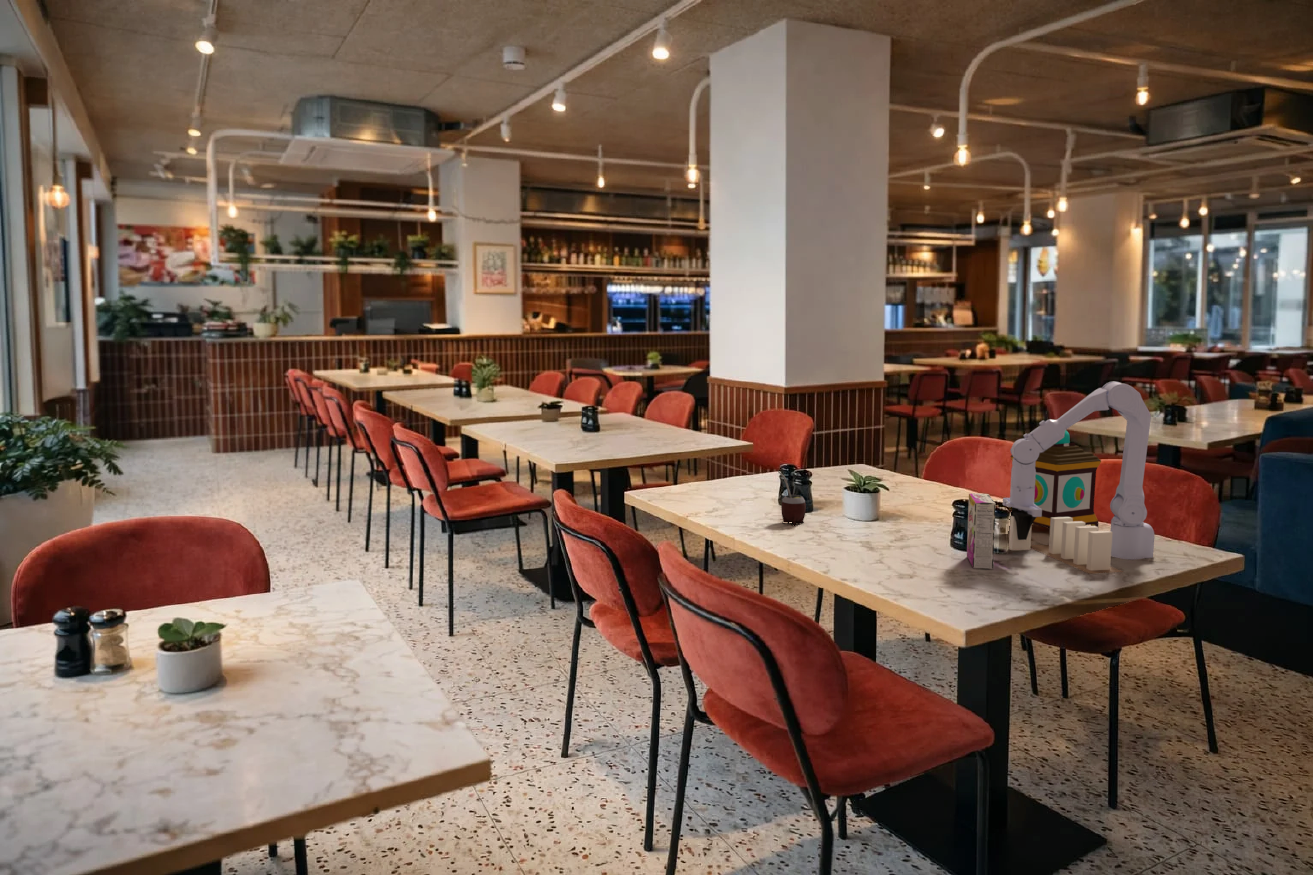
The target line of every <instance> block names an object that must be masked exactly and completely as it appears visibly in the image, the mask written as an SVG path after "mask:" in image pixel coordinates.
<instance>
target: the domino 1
mask: <svg viewBox="0 0 1313 875" xmlns="http://www.w3.org/2000/svg"><path fill="white" fill-rule="evenodd" d="M1032 525H1033V524H1032ZM1032 525H1031V527H1030V530H1029V533H1028V536H1027V539H1026V540H1018V536H1017V526H1016V521H1015V517H1014V516H1010V527H1009V539H1008V549H1009V550H1011V551H1028V550H1029V551H1030V550H1031V548H1030V547H1031V545H1032V544H1031V543H1032V540H1031V539H1032V527H1033V526H1032Z"/></svg>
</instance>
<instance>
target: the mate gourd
mask: <svg viewBox="0 0 1313 875" xmlns="http://www.w3.org/2000/svg"><path fill="white" fill-rule="evenodd" d="M777 473H778V474H779V475H781V477H782V478H783V480H784V481H783V482H784V483H785V487H786V489H787V494H788V495H784V497H783V498H782V499H781V504H780V508H781V518H782V520H783V521H782V522H792V523H793V525H796V526H797V524H796V523H804V524H805V521H804V520H805V517H806V509H807V504H806V500H805V498H804V497H803V496H801V495H799V494H791V491H790V486H789V484H788V479H787V478H786V476H785V475H784V474H783V473H782V472H781V471H779V470H778V471H777ZM793 525H792V526H793Z"/></svg>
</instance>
